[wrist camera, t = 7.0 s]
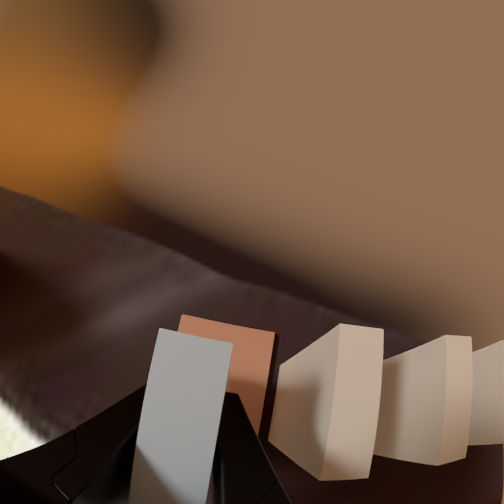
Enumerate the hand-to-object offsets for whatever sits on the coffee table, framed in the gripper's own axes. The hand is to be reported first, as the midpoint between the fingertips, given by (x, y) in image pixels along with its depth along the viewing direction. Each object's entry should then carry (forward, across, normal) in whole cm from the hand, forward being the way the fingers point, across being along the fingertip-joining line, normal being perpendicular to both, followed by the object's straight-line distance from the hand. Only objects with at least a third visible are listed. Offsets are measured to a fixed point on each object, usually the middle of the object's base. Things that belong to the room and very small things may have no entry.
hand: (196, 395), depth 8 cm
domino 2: (+7, -9, +6) cm, 13 cm away
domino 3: (+7, -5, +6) cm, 10 cm away
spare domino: (+4, 0, +6) cm, 7 cm away
